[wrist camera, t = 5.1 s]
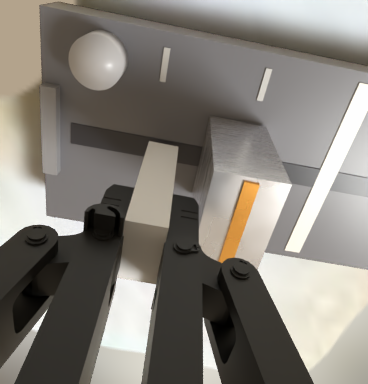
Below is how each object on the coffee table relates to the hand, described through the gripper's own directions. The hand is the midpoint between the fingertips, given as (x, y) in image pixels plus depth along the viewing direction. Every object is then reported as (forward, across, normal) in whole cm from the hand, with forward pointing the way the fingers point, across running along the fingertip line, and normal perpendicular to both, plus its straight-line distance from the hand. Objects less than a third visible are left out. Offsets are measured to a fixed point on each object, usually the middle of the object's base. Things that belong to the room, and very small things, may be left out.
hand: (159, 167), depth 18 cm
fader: (+2, +4, 0) cm, 4 cm away
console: (+5, +4, 0) cm, 6 cm away
